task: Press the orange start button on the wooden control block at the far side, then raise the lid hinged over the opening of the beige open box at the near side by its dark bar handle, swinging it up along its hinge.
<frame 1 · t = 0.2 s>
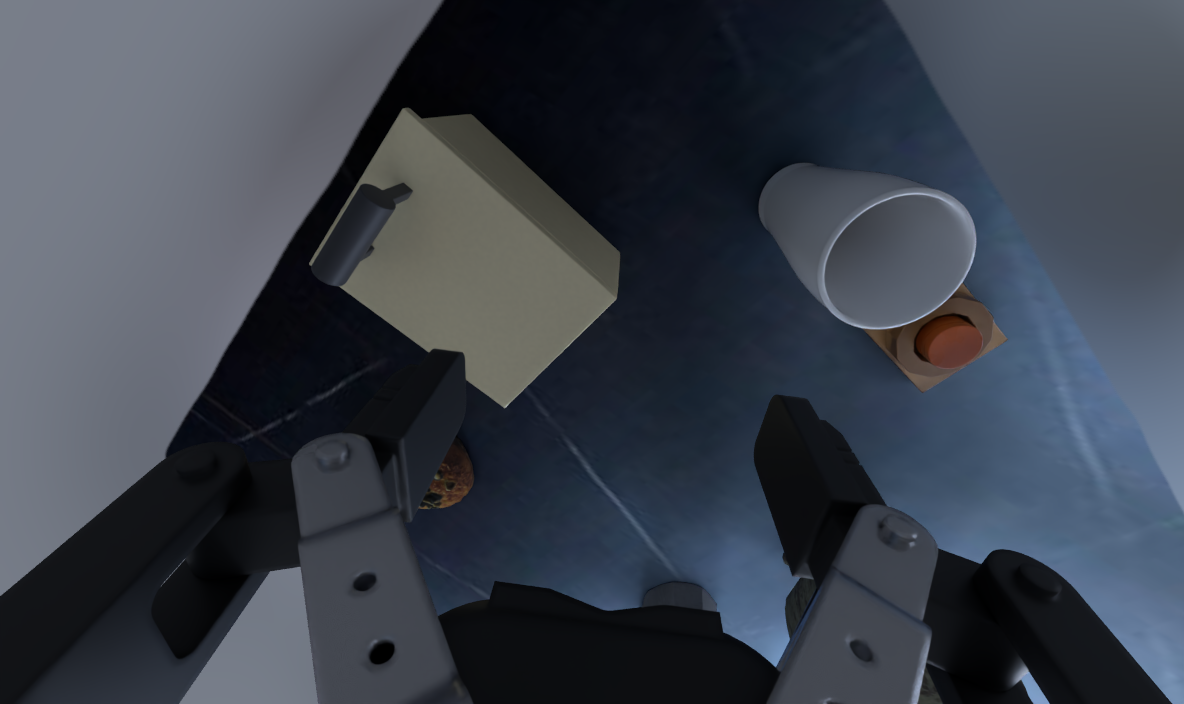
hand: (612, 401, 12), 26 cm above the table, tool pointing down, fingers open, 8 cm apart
start button: (948, 342, 34), point 4 cm above the table, slide at 0.1 cm
tabletop clock: (844, 543, 51), on the table
bread roll: (425, 460, 49), on the table
control block: (918, 319, 38), on the table
coffeepot: (672, 607, 58), on the table
beige open box: (504, 242, 37), on the table
drinking glass: (793, 200, 34), on the table
machine lid: (451, 292, 27), point 12 cm above the table, hinge at 0.0°
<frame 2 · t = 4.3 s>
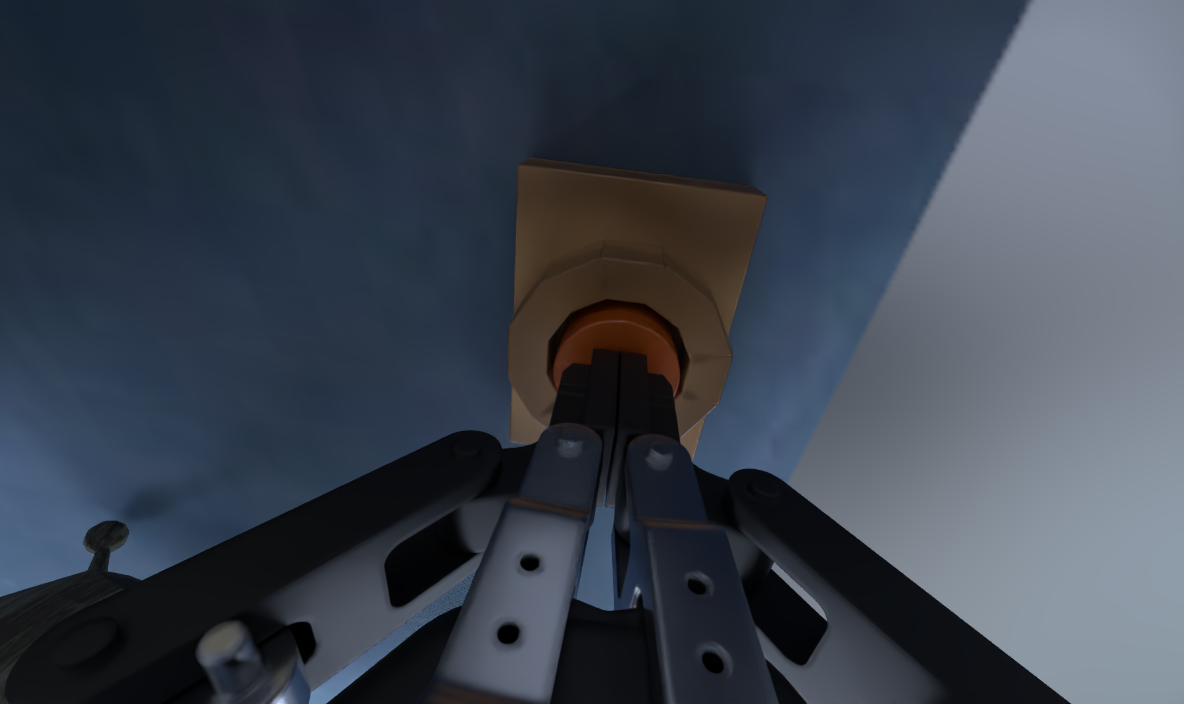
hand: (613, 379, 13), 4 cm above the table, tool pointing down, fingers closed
start button: (616, 362, 14), point 3 cm above the table, slide at -0.6 cm, touching gripper
tabletop clock: (236, 572, 26), on the table
control block: (619, 317, 17), on the table
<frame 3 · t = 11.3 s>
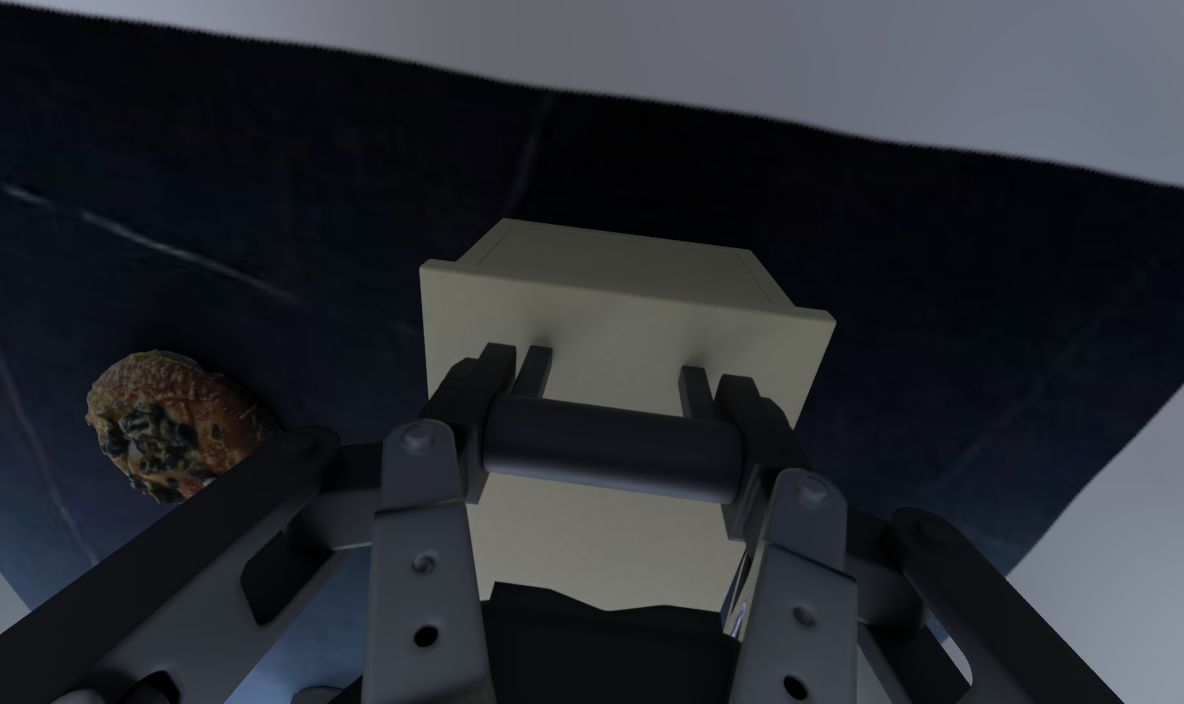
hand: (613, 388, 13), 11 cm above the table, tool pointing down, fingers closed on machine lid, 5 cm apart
bread roll: (203, 421, 29), on the table
beige open box: (606, 367, 25), on the table
drinking glass: (833, 572, 32), on the table
machine lid: (591, 541, 15), point 12 cm above the table, hinge at 0.0°, touching gripper
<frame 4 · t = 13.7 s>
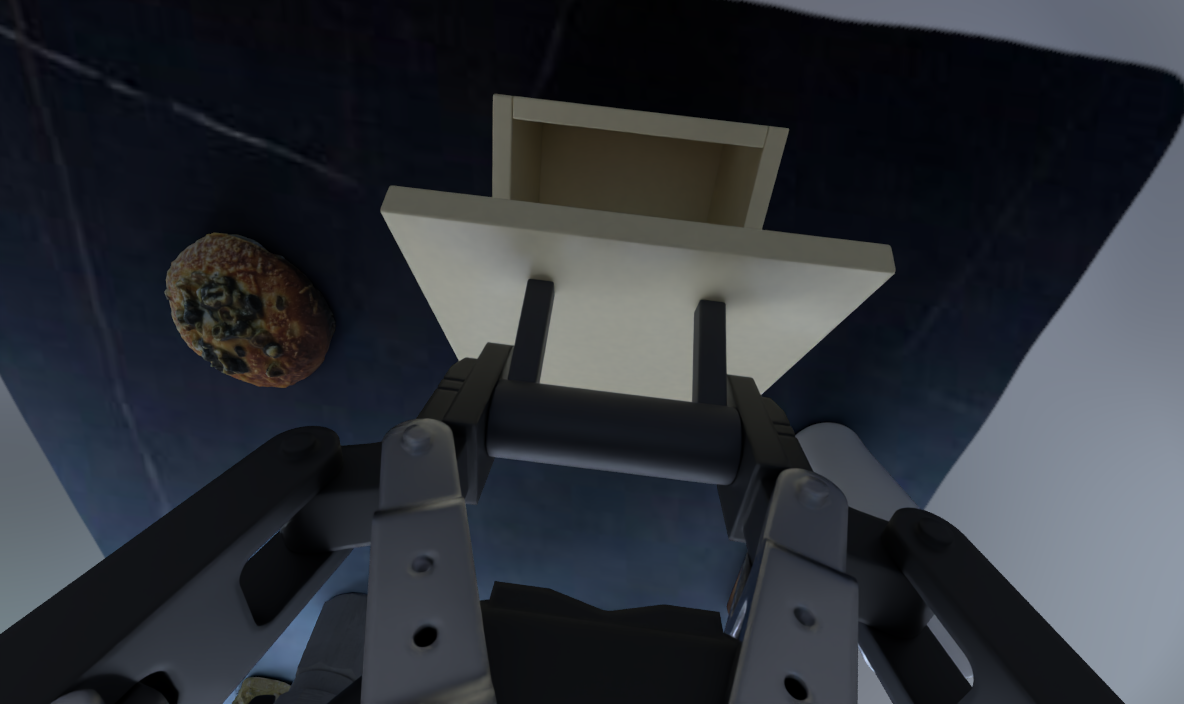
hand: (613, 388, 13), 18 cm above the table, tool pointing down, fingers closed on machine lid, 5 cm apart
bread roll: (261, 308, 33), on the table
coffeepot: (357, 617, 50), on the table
beige open box: (618, 240, 29), on the table
drinking glass: (819, 445, 36), on the table
machine lid: (604, 423, 16), point 16 cm above the table, hinge at 37.1°, touching gripper
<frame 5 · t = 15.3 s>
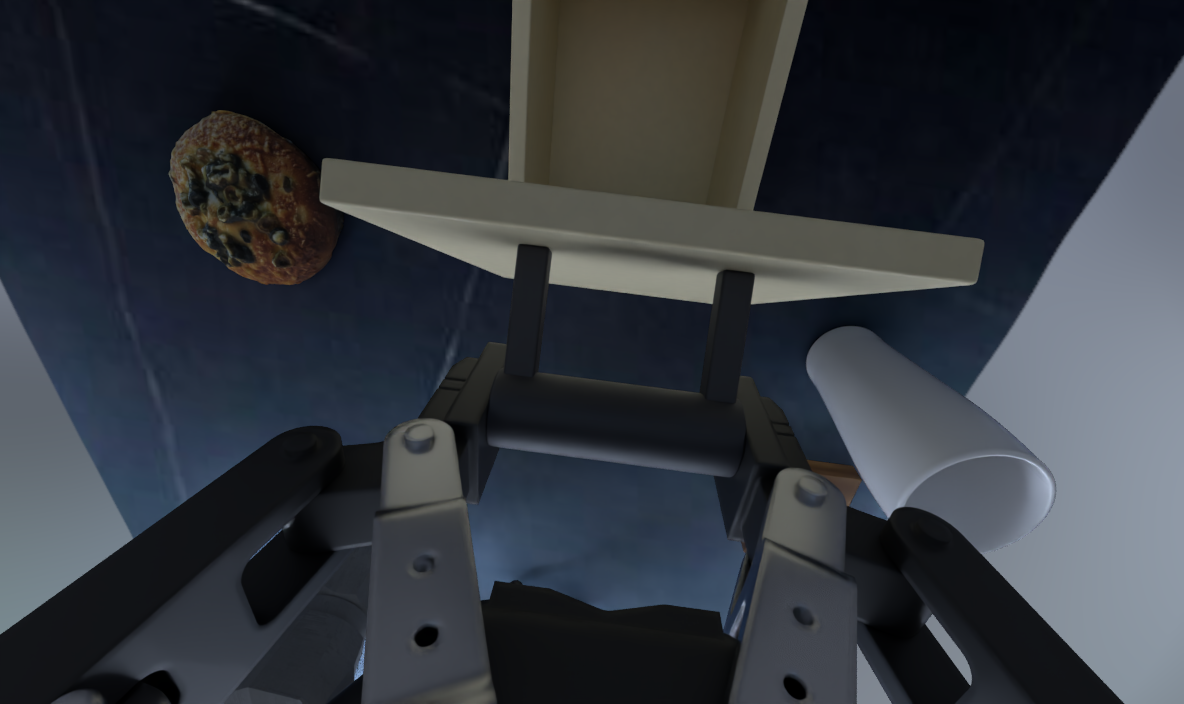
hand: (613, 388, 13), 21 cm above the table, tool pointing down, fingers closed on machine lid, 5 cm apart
bread roll: (267, 203, 32), on the table
control block: (793, 503, 41), on the table
coffeepot: (362, 553, 49), on the table
beige open box: (637, 119, 28), on the table
drinking glass: (839, 354, 35), on the table
machine lid: (616, 335, 16), point 17 cm above the table, hinge at 66.7°, touching gripper
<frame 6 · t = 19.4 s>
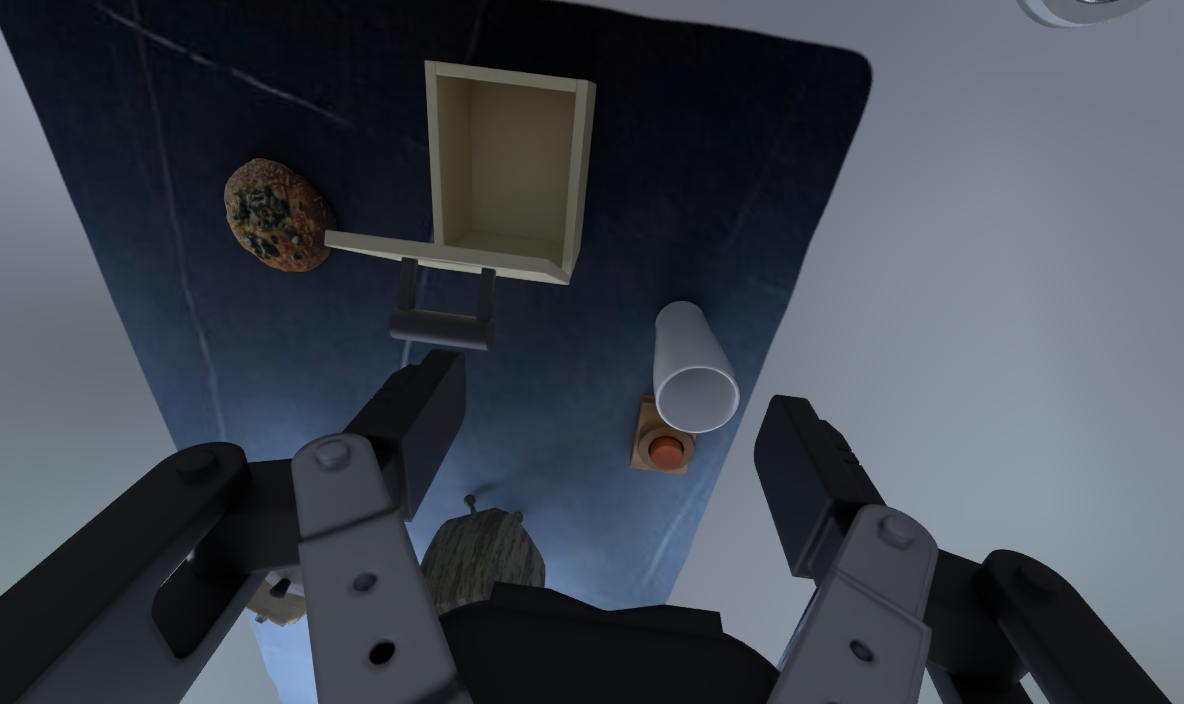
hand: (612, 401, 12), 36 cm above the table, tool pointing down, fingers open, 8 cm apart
start button: (666, 453, 54), point 4 cm above the table, slide at 0.1 cm
tabletop clock: (507, 515, 67), on the table
bread roll: (287, 216, 48), on the table
control block: (664, 431, 57), on the table
coffeepot: (355, 474, 65), on the table
beige open box: (526, 165, 44), on the table
drinking glass: (679, 321, 50), on the table
machine lid: (473, 298, 32), point 17 cm above the table, hinge at 67.5°
ceramic model: (304, 559, 75), on the table
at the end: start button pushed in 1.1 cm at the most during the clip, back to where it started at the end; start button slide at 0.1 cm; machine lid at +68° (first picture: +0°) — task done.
